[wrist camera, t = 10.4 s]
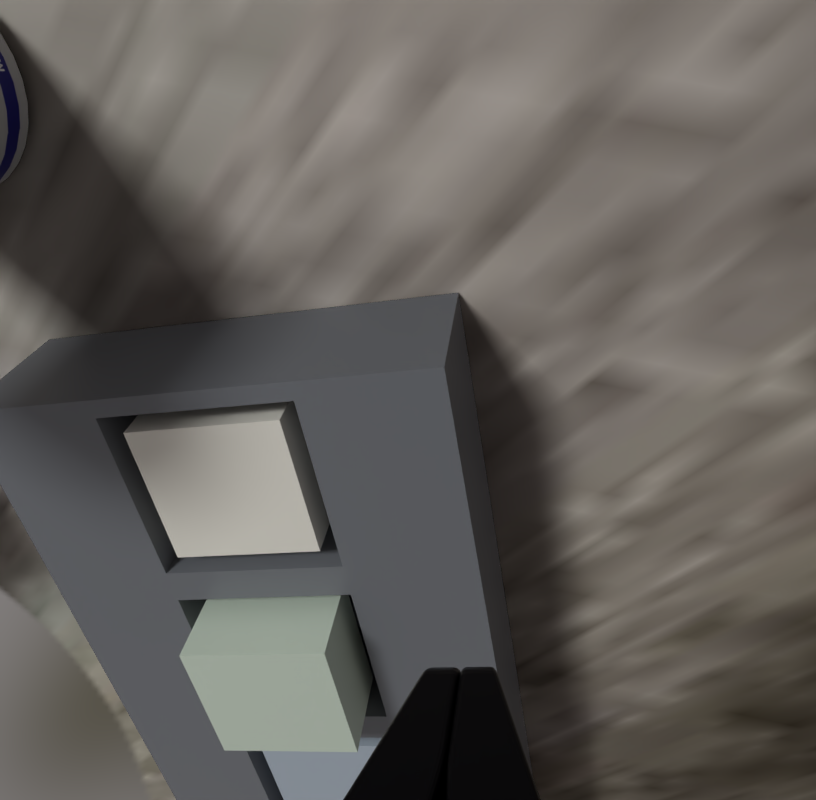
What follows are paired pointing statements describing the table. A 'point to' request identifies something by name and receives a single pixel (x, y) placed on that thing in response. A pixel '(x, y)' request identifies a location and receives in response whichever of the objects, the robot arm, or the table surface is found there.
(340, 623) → the key sage
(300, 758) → the key slate
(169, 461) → the key ivory
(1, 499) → the table surface
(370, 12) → the table surface
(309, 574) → the keypad
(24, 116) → the energy drink
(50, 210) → the table surface
